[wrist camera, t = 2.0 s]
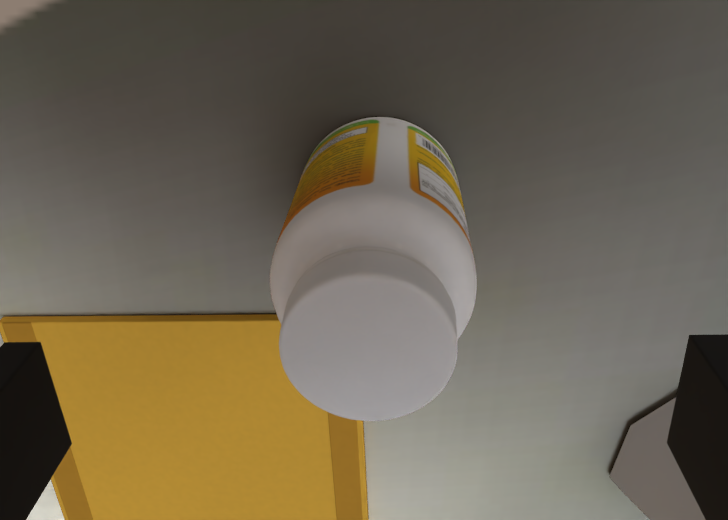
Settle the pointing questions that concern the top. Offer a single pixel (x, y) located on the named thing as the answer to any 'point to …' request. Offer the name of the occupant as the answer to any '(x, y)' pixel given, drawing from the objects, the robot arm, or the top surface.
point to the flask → (654, 470)
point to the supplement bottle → (373, 272)
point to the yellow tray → (191, 422)
